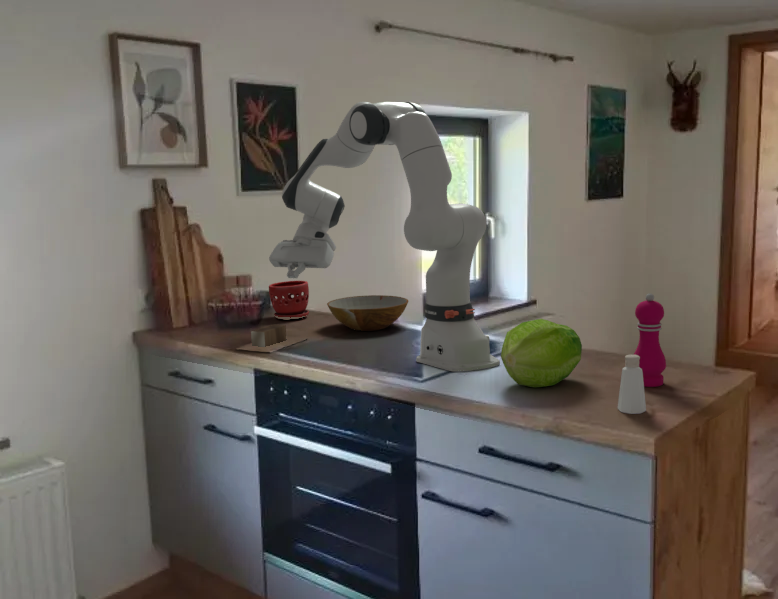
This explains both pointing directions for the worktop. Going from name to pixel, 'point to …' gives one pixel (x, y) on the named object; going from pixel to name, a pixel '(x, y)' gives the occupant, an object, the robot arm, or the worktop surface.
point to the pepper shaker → (632, 387)
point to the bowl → (368, 311)
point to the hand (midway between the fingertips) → (291, 277)
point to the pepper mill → (650, 341)
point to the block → (268, 335)
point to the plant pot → (289, 298)
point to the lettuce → (540, 353)
